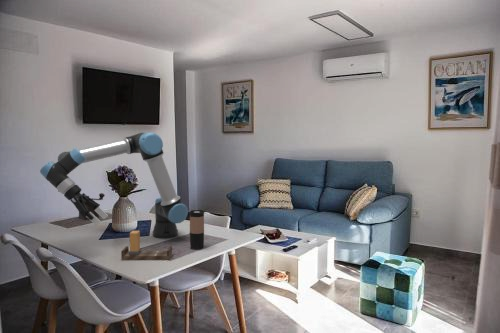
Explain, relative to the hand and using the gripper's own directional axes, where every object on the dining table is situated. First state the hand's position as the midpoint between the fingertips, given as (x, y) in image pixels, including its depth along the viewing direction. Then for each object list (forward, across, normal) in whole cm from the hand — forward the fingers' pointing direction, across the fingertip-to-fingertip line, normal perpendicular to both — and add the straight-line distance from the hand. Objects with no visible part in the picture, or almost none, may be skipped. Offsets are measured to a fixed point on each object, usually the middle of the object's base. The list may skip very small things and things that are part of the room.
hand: (102, 220), depth 176 cm
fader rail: (+28, 0, +2) cm, 28 cm away
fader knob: (+22, 0, -1) cm, 22 cm away
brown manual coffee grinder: (-10, -95, -36) cm, 102 cm away
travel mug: (+45, -14, +19) cm, 51 cm away
